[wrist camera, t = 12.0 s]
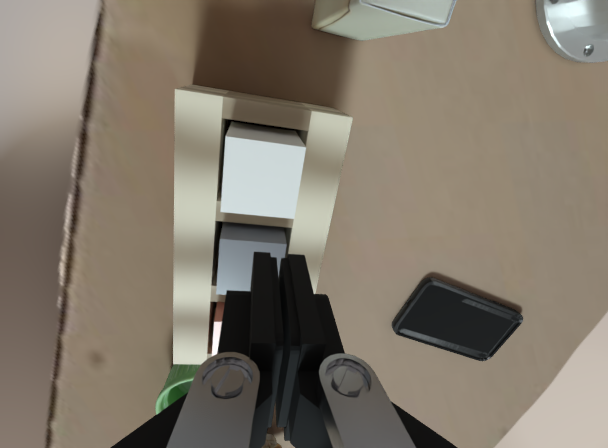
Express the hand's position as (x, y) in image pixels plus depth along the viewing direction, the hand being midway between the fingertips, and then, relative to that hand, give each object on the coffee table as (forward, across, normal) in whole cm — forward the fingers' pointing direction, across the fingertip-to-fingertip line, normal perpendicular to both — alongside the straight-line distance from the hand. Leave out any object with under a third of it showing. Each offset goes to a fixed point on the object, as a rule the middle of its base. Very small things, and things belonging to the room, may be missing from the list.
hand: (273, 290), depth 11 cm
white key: (+15, 0, -1) cm, 15 cm away
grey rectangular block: (+16, +1, +6) cm, 18 cm away
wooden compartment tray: (+19, +1, +6) cm, 20 cm away
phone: (+20, -24, +17) cm, 35 cm away
